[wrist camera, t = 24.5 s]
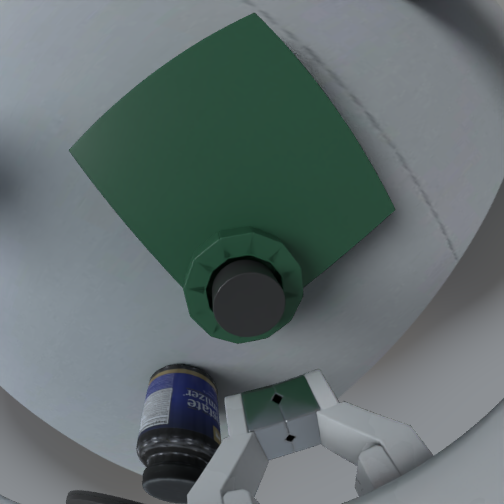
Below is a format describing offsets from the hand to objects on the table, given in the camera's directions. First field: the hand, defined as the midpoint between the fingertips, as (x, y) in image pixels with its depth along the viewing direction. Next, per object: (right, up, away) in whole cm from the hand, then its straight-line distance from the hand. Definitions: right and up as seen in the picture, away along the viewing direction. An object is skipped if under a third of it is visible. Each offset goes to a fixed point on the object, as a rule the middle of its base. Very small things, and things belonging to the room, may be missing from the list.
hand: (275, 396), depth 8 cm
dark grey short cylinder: (-1, +2, +8) cm, 8 cm away
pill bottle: (-7, -7, +15) cm, 18 cm away
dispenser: (-2, +10, +10) cm, 14 cm away
